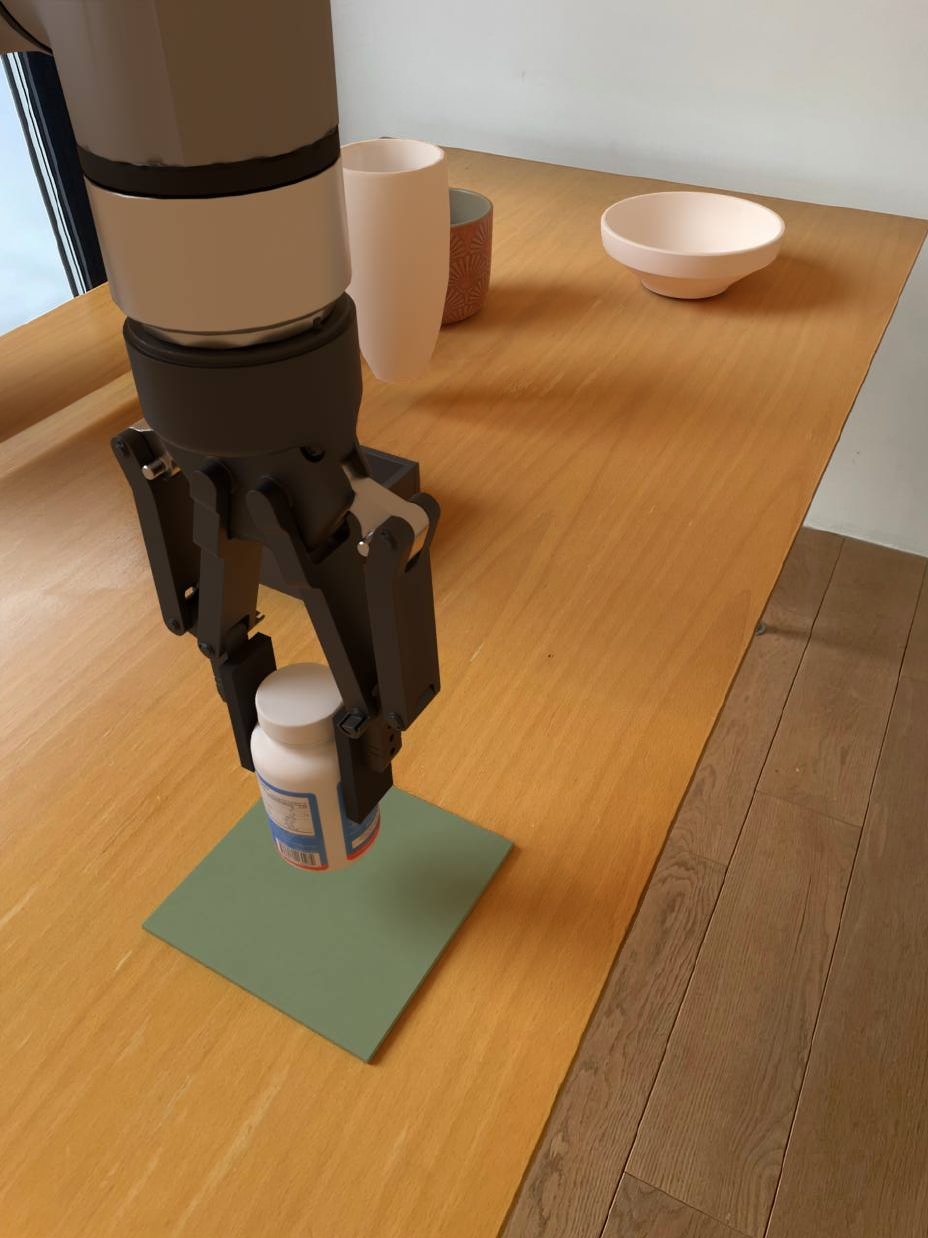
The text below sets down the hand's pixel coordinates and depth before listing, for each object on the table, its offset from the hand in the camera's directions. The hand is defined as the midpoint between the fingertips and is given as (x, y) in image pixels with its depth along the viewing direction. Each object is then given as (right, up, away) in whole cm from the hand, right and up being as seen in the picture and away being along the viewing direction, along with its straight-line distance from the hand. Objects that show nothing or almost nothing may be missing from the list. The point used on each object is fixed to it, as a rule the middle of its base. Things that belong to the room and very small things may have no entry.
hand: (316, 775), depth 47 cm
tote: (-7, +15, +31) cm, 35 cm away
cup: (+1, +27, +46) cm, 54 cm away
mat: (0, -7, +6) cm, 9 cm away
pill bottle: (0, -3, +3) cm, 5 cm away
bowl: (+32, +45, +66) cm, 86 cm away
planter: (+4, +41, +62) cm, 74 cm away
